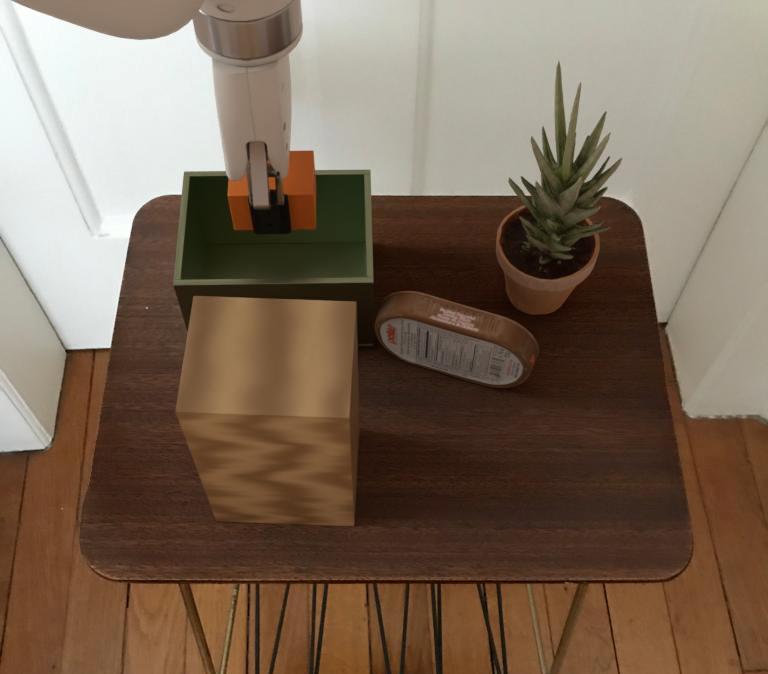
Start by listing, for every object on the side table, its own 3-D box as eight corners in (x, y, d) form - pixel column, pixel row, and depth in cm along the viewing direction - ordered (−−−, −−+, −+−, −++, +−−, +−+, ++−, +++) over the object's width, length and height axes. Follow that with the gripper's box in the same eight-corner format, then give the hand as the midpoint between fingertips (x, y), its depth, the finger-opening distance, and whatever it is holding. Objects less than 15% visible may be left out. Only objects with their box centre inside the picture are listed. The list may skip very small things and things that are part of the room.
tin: (531, 377, 85) (547, 321, 77) (523, 403, 83) (538, 350, 76) (381, 333, 87) (382, 275, 79) (370, 358, 85) (370, 302, 78)
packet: (234, 230, 77) (227, 195, 73) (236, 186, 79) (230, 151, 75) (316, 229, 77) (313, 194, 73) (316, 185, 79) (313, 150, 76)
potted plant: (487, 252, 91) (524, 30, 69) (580, 255, 91) (648, 35, 69) (488, 332, 87) (528, 124, 65) (586, 336, 87) (660, 128, 65)
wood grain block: (216, 521, 78) (175, 411, 62) (228, 422, 82) (193, 295, 66) (354, 526, 78) (349, 417, 62) (359, 427, 82) (356, 301, 66)
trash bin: (373, 348, 86) (373, 282, 77) (193, 351, 86) (173, 285, 77) (370, 241, 92) (370, 169, 83) (201, 244, 91) (183, 171, 83)
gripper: (199, -67, 65) (234, 135, 81) (183, 99, 58) (225, 284, 74) (302, -68, 65) (317, 134, 82) (299, 97, 58) (316, 283, 74)
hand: (273, 204), depth 78 cm, fingers closed on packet, 5 cm apart
